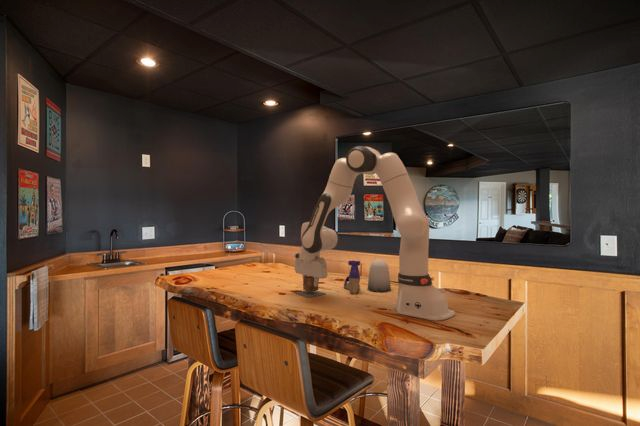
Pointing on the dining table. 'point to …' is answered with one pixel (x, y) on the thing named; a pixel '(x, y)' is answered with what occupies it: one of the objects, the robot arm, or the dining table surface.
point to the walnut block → (309, 284)
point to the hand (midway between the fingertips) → (310, 285)
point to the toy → (379, 276)
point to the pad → (310, 293)
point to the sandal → (353, 277)
